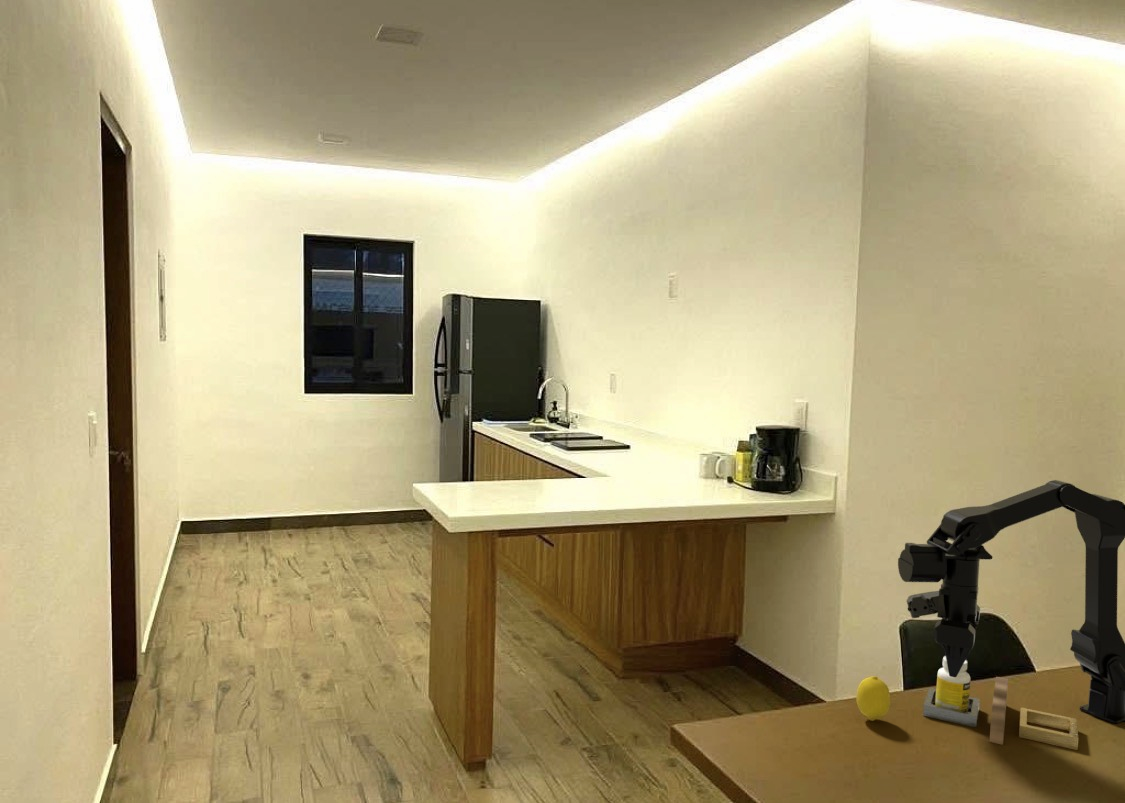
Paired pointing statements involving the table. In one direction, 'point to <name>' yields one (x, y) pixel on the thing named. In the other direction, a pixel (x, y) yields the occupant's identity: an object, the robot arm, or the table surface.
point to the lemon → (873, 698)
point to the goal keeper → (1045, 734)
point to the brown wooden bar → (998, 711)
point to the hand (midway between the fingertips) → (954, 667)
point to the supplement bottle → (953, 688)
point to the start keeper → (951, 711)
